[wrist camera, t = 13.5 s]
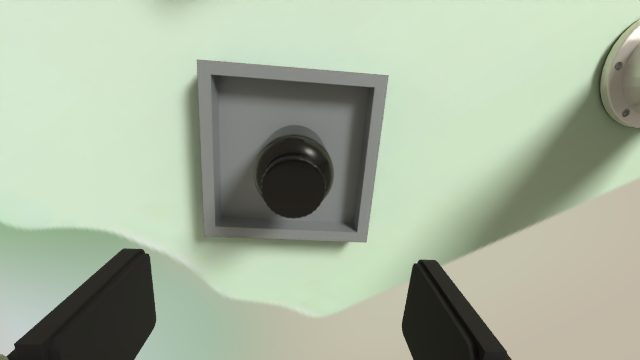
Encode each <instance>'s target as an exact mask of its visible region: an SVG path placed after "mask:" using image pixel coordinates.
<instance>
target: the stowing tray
mask: <svg viewBox="0 0 640 360" xmlns="http://www.w3.org/2000/svg"><path fill="white" fill-rule="evenodd" d="M197 75H198V99H199V122H200V146H201V169H202V193H203V216H204V236H213V237H239V238H264V239H290V240H315V241H341V242H367V234H368V227H369V219H370V212H371V204H372V197H373V189H374V182H375V174H376V167H377V159H378V151H379V144H380V136H381V129H382V121H383V114H384V106H385V99H386V91H387V83H388V76H389V75H378V74H366V73H353V72H341V71H329V70H317V69H305V68H293V67H281V66H269V65H257V64H245V63H232V62H220V61H208V60H197ZM289 125H300V126H304V127H307V128H309V129H311V130H312V131H314V132H315V133H316V134H317V135H318V136H319V137H320V139H321V140H322V142H323V144H324V146H325V148H326V150H327V152H328V154H329V156H330V158H331V161H332V164H333V169H334V179H333V184H332V187H331V189H330V191H329V193H328V195H327V196H326V198H325V199H324V200H323V201H322V202H321V204H320V206H319V207H317V209H316V210H315V211H313V212H312V214H309V215H307V216H306V217H301V218H295V219H293V218H286V217H281V216H280V215H278V214H275V212H273V211H271V210H270V208H269V207H268V206H267V205H266V203H265V202H264V200H263V198H262V197H261V195H260V194H259V192H258V190H257V188H256V185H255V182H254V166H255V162H256V159H257V157H258V155H259V153H260V151H261V150H262V148H263V146H264V145H265V143H266V141H267V140H268V138H269V137H270V136H271V135H272V134H273V133H274V132H275V131H277V130H278V129H280V128H282V127H285V126H289Z"/></svg>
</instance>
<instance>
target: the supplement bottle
mask: <svg viewBox="0 0 640 360" xmlns="http://www.w3.org/2000/svg"><path fill="white" fill-rule="evenodd" d="M333 179H334V169H333V164H332V161H331V158H330V156H329V154H328V152H327V150H326V148H325V146H324V144H323V142H322V140H321V139H320V137H319V136H318V135H317V134H316V133H315V132H314V131H312V130H311V129H309V128H307V127H304V126H300V125H289V126H285V127H282V128H280V129H278V130H277V131H275V132H274V133H273V134H272V135H271V136H270V137H269V138H268V140H267V141H266V143H265V145H264V146H263V148H262V150H261V151H260V153H259V155H258V157H257V159H256V162H255V166H254V182H255V185H256V188H257V190H258V192H259V194H260V195H261V197H262V198H263V200H264V202H265V203H266V205H267V206H268V207H269V208H270V210H271V211H273V212H275V214H278V215H280V216H281V217H286V218H293V219H295V218H301V217H306V216H307V215H309V214H312V212H313V211H315V210H316V209H317V207H319V206H320V204H321V202H322V201H323V200H324V199H325V198H326V196H327V195H328V193H329V191H330V189H331V187H332V184H333Z"/></svg>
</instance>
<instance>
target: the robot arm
mask: <svg viewBox="0 0 640 360" xmlns="http://www.w3.org/2000/svg"><path fill="white" fill-rule="evenodd" d="M600 92H601V98H602V102H603V105H604V107H605V110H606V111H607V112H608V114H609V115H610V116H611V117H612V118H613V119H614V120H615V121H617V122H618V123H620V124H622V125H625V126H629V127H634V128H640V19H639V20H638V21H637V22H635V23H634V24H633V25H631V26H630V27H629V28H628V29H627V30H626V31H625V32H624V33H623V34H622V35H621V36H620V38H619V39H618V41H617V42H616V43H615V45H614V46H613V48H612V49H611V51H610V53H609V55H608V57H607V59H606V62H605V65H604V67H603V71H602V76H601V83H600ZM155 323H156V312H155V302H154V293H153V283H152V274H151V264H150V257H149V254H145V252H144V250H143V249H122V250H121V251H120V252H119V253H118V254H117V255H115V256H114V257H113V258H112V259H111V260H110V261H108V262H107V263H106V264H105V265H104V266H103V267H102V268H100V269H99V270H98V271H97V272H96V273H95V274H94V275H92V276H91V277H90V278H89V279H88V280H87V281H86V282H84V283H83V284H82V285H81V286H80V287H79V288H78V289H76V290H75V291H74V292H73V293H72V294H71V295H70V296H69V297H67V298H66V299H65V300H64V301H63V302H62V303H60V304H59V305H58V306H57V307H56V308H55V309H54V310H53V311H51V312H50V313H49V314H48V315H47V316H46V317H44V318H43V319H42V320H41V321H40V322H39V323H38V324H37V325H35V326H34V327H33V328H32V329H31V330H30V331H28V332H27V333H26V334H25V335H24V336H23V337H22V338H20V339H19V340H18V341H17V342H16V343H15V344H14V346H15V350H13V351H12V352H11V353H10V354H9V355H8V356H7V357H6V356H4V355H1V354H0V360H134V359H135V357H136V355H137V354H138V353H139V351H140V349H141V348H142V346H143V345H144V343H145V341H146V340H147V338H148V337H149V335H150V334H151V332H152V330H153V328H154V326H155ZM402 331H403V335H404V337H405V340H406V342H407V345H408V347H409V350H410V352H411V355H412V357H413V360H511V358H510V357H509V356H508V354H507V351H506V350H505V349H504V347H503V346H502V345H501V344H500V342H499V341H498V340H497V338H496V337H495V336H494V335H493V334H492V332H491V331H490V329H489V328H488V327H487V325H486V324H485V323H484V322H483V320H482V319H481V318H480V316H479V315H478V314H477V313H476V311H475V310H474V309H473V307H472V306H471V305H470V303H469V302H468V301H467V300H466V298H465V297H464V296H463V294H462V293H461V292H460V291H459V289H458V288H457V287H456V285H455V284H454V283H453V282H452V280H451V279H450V278H449V276H448V275H447V274H446V272H445V271H444V270H443V269H442V267H441V266H440V265H439V263H438V262H437V261H436V260H419V261H418V263H417V264H414V265H413V268H412V273H411V278H410V284H409V289H408V294H407V300H406V305H405V311H404V316H403V321H402Z"/></svg>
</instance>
